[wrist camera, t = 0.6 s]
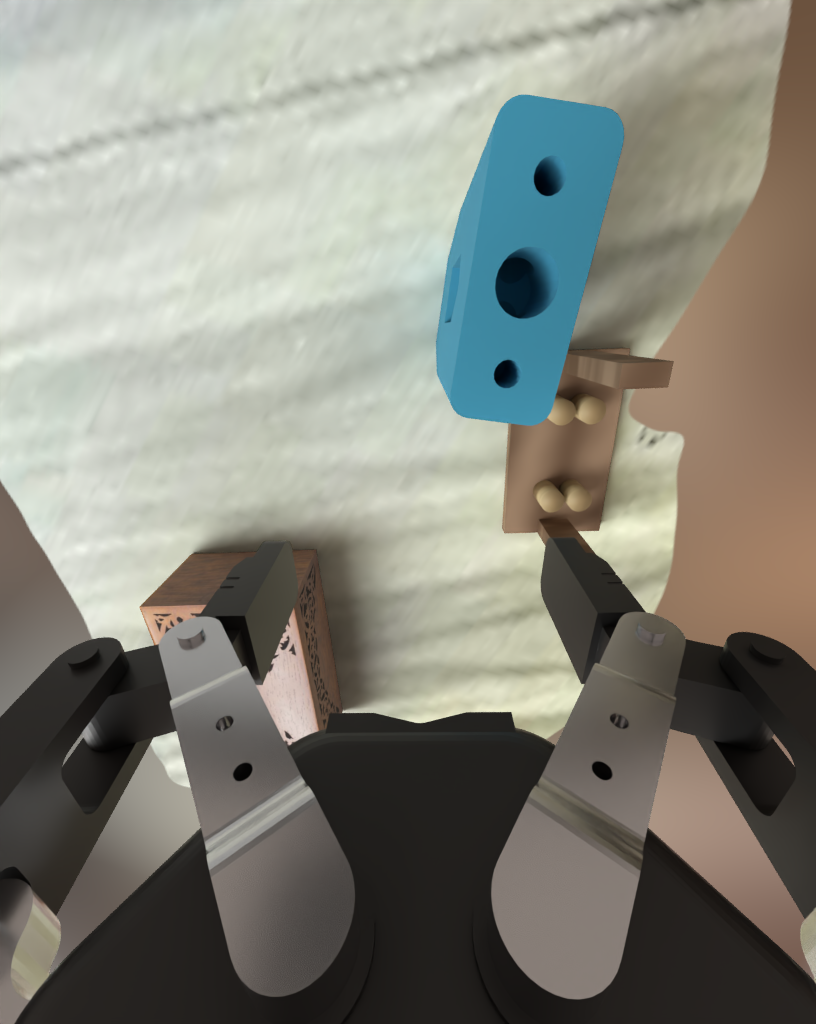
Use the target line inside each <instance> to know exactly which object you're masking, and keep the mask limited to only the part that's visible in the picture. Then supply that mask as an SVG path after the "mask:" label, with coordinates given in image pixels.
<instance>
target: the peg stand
mask: <svg viewBox="0 0 816 1024" xmlns="http://www.w3.org/2000/svg"><path fill="white" fill-rule="evenodd" d="M629 353H630V349H629V348H611V349H588V350H568V352H567V355H566V359H565V363H564V366H563V370H562V374H561V378H560V381H559V385H558V389H557V393H556V396H555V400H554V404H553V408H552V410H551V413H550V414H549V416H548V417H547V418H546V419H545V420H544V421H543V422H541V423H539V424H537V425H533V426H526V425H518V424H511V423H509V427H508V443H507V459H506V476H505V492H504V508H503V525H502V529H503V531H504V533H532V532H538V534H539V536H540V537H541V539H542V541H543V543H544V544H545V546H546V542H547V540H548V538H552V537H574V538H576V539H577V541H578V542H579V544H580V545H581V546H582V548H583V549H584V551H585V552H586V553H594V551H593V550H592V549H591V548H590V546H589V545H588V544H587V543H586V541H585V540H584V539H583V538H582V536H581V535H580V534H579V533H578V531H599V528H600V522H601V516H602V511H603V505H604V499H605V493H606V487H607V481H608V475H609V470H610V464H611V458H612V452H613V446H614V440H615V435H616V429H617V423H618V417H619V411H620V405H621V399H622V394H623V389H639V388H663V387H668V385H669V380H670V375H671V371H672V366H673V361H666V360H659V359H652V358H644V357H637V356H629ZM594 554H595V553H594ZM595 555H596V554H595Z"/></svg>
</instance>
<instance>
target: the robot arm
mask: <svg viewBox="0 0 816 1024" xmlns="http://www.w3.org/2000/svg"><path fill="white" fill-rule="evenodd" d="M541 593H542V597H543V600H544V602H545V605H546V607H547V609H548V611H549V613H550V616H551V618H552V620H553V622H554V625H555V627H556V629H557V631H558V633H559V636H560V638H561V640H562V642H563V644H564V647H565V649H566V651H567V653H568V655H569V658H570V660H571V662H572V664H573V667H574V669H575V671H576V673H577V675H578V678H579V680H580V682H581V684H585V685H584V687H583V689H582V691H581V693H580V696H579V698H578V700H577V702H576V704H575V706H574V708H573V710H572V712H571V715H570V717H569V719H568V721H567V723H566V725H565V727H564V730H563V732H562V734H561V736H560V738H559V740H558V742H557V744H556V746H555V745H554V744H552V743H551V742H549V741H547V740H546V739H544V738H542V737H540V736H538V735H535V734H533V733H531V732H528V731H525V730H522V729H518V728H515V726H514V722H513V718H512V713H511V712H466V713H462V714H458V715H454V716H450V717H446V718H442V719H438V720H434V721H430V722H426V723H414V722H409V721H405V720H401V719H397V718H392V717H388V716H384V715H380V714H376V713H329V718H328V723H327V727H326V729H323V730H320V731H317V732H314V733H311V734H309V735H307V736H305V737H303V738H301V739H299V740H297V741H295V742H294V743H292V744H291V745H289V746H288V747H287V746H286V744H285V742H284V740H283V738H282V736H281V734H280V732H279V730H278V728H277V726H276V724H275V722H274V720H273V718H272V716H271V714H270V712H269V710H268V708H267V706H266V704H265V702H264V700H263V698H262V696H261V694H260V692H259V690H258V688H257V686H256V685H263V683H264V680H265V678H266V675H267V673H268V670H269V668H270V665H271V663H272V660H273V658H274V656H275V653H276V651H277V648H278V646H279V643H280V641H281V638H282V636H283V633H284V631H285V628H286V626H287V623H288V621H289V618H290V616H291V613H292V611H293V609H294V606H295V604H296V601H297V596H298V580H297V575H296V569H295V563H294V557H293V552H292V546H291V544H290V542H289V541H264V542H263V543H262V545H261V546H260V548H259V549H258V551H257V552H256V554H255V555H254V557H246V558H245V559H244V560H242V561H241V562H239V563H238V564H237V565H235V566H234V567H233V568H232V570H231V571H230V572H229V574H228V575H227V577H226V580H224V581H223V582H222V584H221V585H220V589H217V591H216V592H215V594H214V595H213V596H212V598H211V599H210V601H209V602H208V604H207V605H206V606H205V608H204V609H203V611H202V612H201V613H200V615H199V616H198V617H196V618H192V619H189V620H186V621H183V622H181V623H179V624H177V625H175V626H174V627H172V628H171V629H170V630H169V631H167V632H166V633H165V634H164V635H163V637H162V638H161V640H160V642H159V644H157V645H153V646H149V647H145V648H140V649H136V650H132V651H128V652H124V650H123V648H122V645H121V643H120V642H119V641H118V640H117V639H114V638H105V637H104V638H97V639H92V640H89V641H86V642H83V643H81V644H78V645H76V646H74V647H72V648H71V649H69V650H67V651H66V652H64V653H63V654H62V655H60V656H59V657H58V658H56V659H55V661H53V662H52V663H51V664H50V666H49V667H48V668H47V669H46V670H45V671H44V672H43V673H42V674H41V675H40V676H39V677H38V678H37V679H36V680H35V681H34V682H33V683H32V684H31V686H30V687H29V688H28V689H27V690H26V691H25V692H24V693H23V694H22V695H21V696H20V697H19V698H18V699H17V700H16V701H15V702H14V703H13V704H12V706H10V708H9V709H8V710H7V711H6V712H5V713H4V714H3V715H2V716H1V717H0V1024H816V671H815V670H814V669H813V668H812V667H811V666H810V665H809V664H808V663H807V662H806V661H805V660H804V659H803V658H802V657H801V656H800V655H799V654H797V653H796V652H795V651H794V650H792V649H791V648H789V647H788V646H786V645H784V644H783V643H781V642H779V641H777V640H774V639H772V638H769V637H766V636H763V635H759V634H756V633H750V632H738V633H734V634H731V635H730V636H729V637H728V638H727V640H726V643H725V645H724V647H720V646H714V645H710V644H705V643H700V642H695V641H691V640H687V639H685V636H684V634H683V633H682V632H681V630H680V629H679V628H678V627H677V626H676V625H674V624H673V623H671V622H670V621H668V620H666V619H664V618H662V617H660V616H657V615H654V614H651V613H646V612H645V610H644V609H643V608H642V607H641V605H640V604H639V603H638V601H637V600H636V599H635V598H634V596H633V595H632V594H631V592H630V591H629V590H628V588H627V587H626V586H625V585H624V584H622V581H621V579H620V578H619V577H618V576H617V575H615V572H614V570H613V569H612V568H611V567H610V565H609V564H608V563H607V562H606V561H605V560H603V559H602V558H600V557H598V556H597V555H595V554H594V553H586V552H585V551H584V549H583V548H582V546H581V545H580V544H579V542H578V541H577V539H576V538H574V537H552V538H548V540H547V542H546V547H545V554H544V561H543V568H542V575H541ZM670 729H673V730H677V731H680V732H684V733H687V734H691V735H695V736H696V738H697V740H698V741H699V743H700V745H701V746H702V748H703V750H704V751H705V753H706V754H707V756H708V758H709V760H710V761H711V763H712V764H713V766H714V768H715V770H716V771H717V773H718V775H719V776H720V778H721V779H722V781H723V783H724V785H725V786H726V788H727V790H728V791H729V793H730V795H731V796H732V798H733V800H734V801H735V803H736V805H737V806H738V808H739V810H740V811H741V813H742V815H743V816H744V818H745V820H746V821H747V823H748V825H749V826H750V828H751V830H752V831H753V833H754V835H755V836H756V838H757V840H758V841H759V843H760V845H761V846H762V848H763V850H764V851H765V853H766V854H767V856H768V858H769V860H770V861H771V863H772V865H773V866H774V868H775V870H776V871H777V873H778V875H779V876H780V878H781V880H782V881H783V883H784V885H785V886H786V888H787V890H788V891H789V893H790V895H791V896H792V898H793V900H794V901H795V903H796V905H797V906H798V908H799V910H800V912H801V913H802V915H803V917H804V918H805V920H804V922H803V923H802V926H801V930H800V932H801V933H800V939H801V945H802V949H803V952H804V955H805V958H806V960H807V962H808V964H809V966H810V969H811V971H812V973H813V975H814V980H813V979H812V978H811V977H810V976H809V975H808V974H807V973H806V972H805V971H804V970H803V969H802V968H801V967H800V966H799V965H798V964H797V963H796V962H795V961H794V960H793V959H792V958H791V957H790V956H789V955H788V954H786V953H785V952H784V951H783V950H782V949H781V948H780V947H779V946H778V945H777V944H775V943H774V942H773V941H772V940H771V939H770V938H769V937H768V936H767V935H766V934H764V933H763V932H762V931H761V930H760V929H759V928H758V927H757V926H756V925H754V923H752V922H751V921H750V920H749V919H748V918H747V917H746V916H745V915H744V914H743V913H741V912H740V911H739V910H738V909H737V908H736V907H735V906H734V905H733V904H732V903H730V902H729V901H728V900H727V899H726V898H725V897H724V896H723V895H721V893H719V892H718V891H717V890H716V889H715V888H714V887H713V886H712V885H710V883H708V882H707V881H706V880H705V879H704V878H703V877H702V876H701V875H700V874H699V873H697V872H696V871H695V870H694V869H693V868H692V867H691V866H690V865H689V864H687V863H686V862H685V861H684V860H683V859H682V858H681V857H680V856H679V855H678V854H676V853H675V852H674V851H673V850H672V849H671V848H670V847H669V846H668V845H666V844H665V843H664V842H663V841H662V840H661V839H660V838H659V837H658V836H657V835H655V834H654V833H653V832H652V831H651V830H650V829H649V828H648V823H649V819H650V815H651V811H652V806H653V802H654V797H655V792H656V788H657V784H658V779H659V775H660V770H661V766H662V761H663V757H664V752H665V747H666V743H667V739H668V734H669V730H670ZM174 731H177V734H178V738H179V742H180V746H181V750H182V754H183V758H184V762H185V766H186V770H187V774H188V778H189V782H190V786H191V790H192V794H193V798H194V802H195V806H196V810H197V814H198V818H199V822H200V826H201V828H200V829H199V830H198V831H197V832H196V833H195V834H194V835H193V836H192V837H191V838H190V839H188V840H187V841H186V842H185V843H184V844H183V845H182V846H181V847H180V848H179V849H178V850H177V851H176V852H175V853H174V854H173V855H172V856H171V857H170V858H169V859H168V860H167V861H166V862H164V864H162V865H161V866H160V867H159V868H158V869H157V870H156V871H155V872H154V873H153V874H152V875H151V876H150V877H149V878H148V879H147V880H146V881H145V882H144V883H143V884H142V885H141V886H140V887H138V889H137V890H135V891H134V892H133V893H132V894H131V895H130V896H129V897H128V898H127V899H126V900H125V901H124V902H123V903H122V904H121V905H120V906H119V907H118V908H117V909H116V910H115V911H113V913H111V914H110V915H109V916H108V917H107V918H106V919H105V920H104V921H103V922H102V923H101V924H100V925H99V926H98V927H97V928H96V929H95V930H94V931H93V932H92V933H91V934H89V935H88V936H87V938H85V939H84V940H83V941H82V942H81V943H80V944H79V945H78V946H77V947H76V948H75V949H74V950H73V951H72V952H71V953H70V954H69V955H68V956H67V957H66V958H65V959H64V960H63V961H62V962H61V963H60V964H59V965H58V966H57V967H56V968H55V969H54V971H53V972H52V973H51V974H50V972H49V970H50V968H51V966H52V963H53V960H54V958H55V956H56V953H57V950H58V947H59V943H60V937H61V926H60V923H59V920H58V918H57V917H56V915H57V913H58V911H59V909H60V908H61V906H62V904H63V902H64V900H65V898H66V896H67V895H68V893H69V891H70V889H71V887H72V886H73V884H74V882H75V880H76V878H77V876H78V875H79V873H80V871H81V869H82V867H83V865H84V864H85V862H86V860H87V858H88V856H89V855H90V853H91V851H92V849H93V847H94V845H95V844H96V842H97V840H98V838H99V836H100V834H101V832H102V831H103V829H104V827H105V825H106V823H107V822H108V820H109V818H110V816H111V814H112V812H113V810H114V809H115V807H116V805H117V803H118V801H119V800H120V797H121V796H122V794H123V792H124V790H125V788H126V787H127V785H128V783H129V781H130V779H131V777H132V776H133V774H134V772H135V770H136V769H137V767H138V765H139V763H140V761H141V759H142V758H143V756H144V754H145V752H146V750H147V748H148V746H149V745H150V743H151V741H152V739H153V738H154V737H157V736H160V735H164V734H167V733H171V732H174ZM81 734H82V736H83V739H82V740H81V742H80V743H79V744H78V746H77V747H76V749H75V750H74V752H73V753H72V754H71V756H70V757H69V758H68V760H67V761H66V763H65V764H64V765H63V762H64V759H65V757H66V755H67V753H68V752H69V750H70V749H71V747H72V746H73V744H74V743H75V742H76V740H77V739H78V738H79V736H80V735H81ZM774 734H775V735H776V737H777V738H778V739H779V740H780V742H781V743H782V744H783V745H784V747H785V748H786V749H787V751H788V752H789V754H790V755H791V757H792V760H793V762H794V765H795V767H794V765H793V764H792V763H791V761H790V760H789V759H788V758H787V756H786V755H785V754H784V752H783V751H782V750H781V749H780V747H779V746H778V745H777V743H776V742H775V741H774V739H773V738H772V737H773V735H774ZM62 765H63V767H62Z"/></svg>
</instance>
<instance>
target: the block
mask: <svg viewBox="0 0 816 1024" xmlns="http://www.w3.org/2000/svg"><path fill="white" fill-rule="evenodd" d="M623 140H624V128H623V124H622V121H621V119H620V117H619V116H618V114H617V113H616V112H614V111H613V110H612V109H609V108H606V107H600V106H594V105H588V104H581V103H575V102H569V101H563V100H556V99H550V98H544V97H538V96H532V95H518V96H515V97H513V98H511V99H510V100H509V101H507V102H506V103H505V104H504V106H503V107H502V108H501V110H500V112H499V114H498V116H497V118H496V120H495V123H494V125H493V128H492V131H491V133H490V136H489V138H488V141H487V143H486V146H485V149H484V151H483V154H482V156H481V159H480V161H479V164H478V167H477V169H476V172H475V174H474V177H473V179H472V182H471V185H470V187H469V190H468V192H467V195H466V197H465V200H464V203H463V205H462V208H461V211H460V214H459V218H458V222H457V226H456V230H455V234H454V238H453V242H452V246H451V250H450V254H449V258H448V263H447V270H446V277H445V284H444V291H443V298H442V305H441V313H440V320H439V327H438V334H437V341H436V354H437V375H438V377H439V379H440V382H441V384H442V386H443V388H444V390H445V392H446V394H447V397H448V399H449V401H450V403H451V405H452V407H453V409H454V410H455V411H456V413H457V414H459V415H461V416H462V417H466V418H472V419H480V420H488V421H495V422H503V423H511V424H518V425H526V426H533V425H537V424H539V423H541V422H543V421H544V420H545V419H546V418H547V417H548V416H549V414H550V413H551V410H552V408H553V404H554V400H555V396H556V393H557V389H558V385H559V381H560V378H561V374H562V370H563V366H564V363H565V359H566V355H567V352H568V348H569V344H570V340H571V337H572V333H573V329H574V325H575V322H576V318H577V314H578V310H579V307H580V303H581V299H582V295H583V292H584V288H585V284H586V281H587V277H588V273H589V269H590V266H591V262H592V258H593V254H594V251H595V247H596V243H597V239H598V236H599V232H600V228H601V224H602V221H603V217H604V213H605V210H606V206H607V202H608V198H609V195H610V191H611V187H612V183H613V180H614V176H615V172H616V168H617V165H618V161H619V157H620V153H621V150H622V146H623Z"/></svg>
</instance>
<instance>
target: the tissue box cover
mask: <svg viewBox="0 0 816 1024" xmlns="http://www.w3.org/2000/svg"><path fill="white" fill-rule="evenodd" d="M292 552H293V557H294V563H295V569H296V575H297V580H298V596H297V601H296V604H295V606H294V609H293V611H292V613H291V616H290V618H289V621H288V623H287V626H286V628H285V631H284V633H283V636H282V638H281V641H280V643H279V646H278V648H277V651H276V653H275V656H274V658H273V660H272V663H271V665H270V668H269V670H268V673H267V675H266V678H265V680H264V683H263V685H256V686H257V688H258V690H259V692H260V694H261V696H262V698H263V700H264V702H265V704H266V706H267V708H268V710H269V712H270V714H271V716H272V718H273V720H274V722H275V724H276V726H277V728H278V730H279V732H280V734H281V736H282V738H283V740H284V742H285V744H286V746H287V747H288V746H289V745H291V744H292V743H294V742H295V741H297V740H299V739H301V738H303V737H305V736H307V735H309V734H311V733H314V732H317V731H320V730H323V729H326V727H327V723H328V718H329V713H342V705H341V699H340V692H339V686H338V680H337V674H336V668H335V662H334V656H333V650H332V644H331V637H330V631H329V625H328V619H327V613H326V607H325V601H324V595H323V589H322V582H321V576H320V570H319V564H318V558H317V552H316V550H292ZM255 554H256V552H235V553H207V554H191V555H190V556H189V557H188V558H187V559H186V560H185V561H184V562H183V563H182V564H181V565H180V566H179V567H178V568H177V569H176V570H175V571H174V572H173V573H172V574H171V575H170V577H169V578H168V579H167V580H166V581H165V582H164V583H163V584H162V585H161V586H160V587H159V588H158V589H157V590H156V591H155V592H154V593H153V594H152V595H151V596H150V597H149V598H148V599H147V600H146V601H145V602H144V603H143V604H142V605H141V606H140V610H141V612H142V615H143V617H144V620H145V622H146V625H147V627H148V630H149V632H150V635H151V637H152V640H153V643H154V645H157V644H159V642H160V640H161V638H162V637H163V635H164V634H165V633H166V632H167V631H169V630H170V629H171V628H172V627H174V626H175V625H177V624H179V623H181V622H183V621H186V620H189V619H192V618H196V617H198V616H199V615H200V613H201V612H202V611H203V609H204V608H205V606H206V605H207V604H208V602H209V601H210V599H211V598H212V596H213V595H214V594H215V592H216V591H217V589H220V585H221V584H222V582H223V581H224V580H226V577H227V575H228V574H229V572H230V571H231V570H232V568H233V567H234V566H235V565H237V564H238V563H239V562H241V561H242V560H244V559H245V558H246V557H254V555H255Z"/></svg>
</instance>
